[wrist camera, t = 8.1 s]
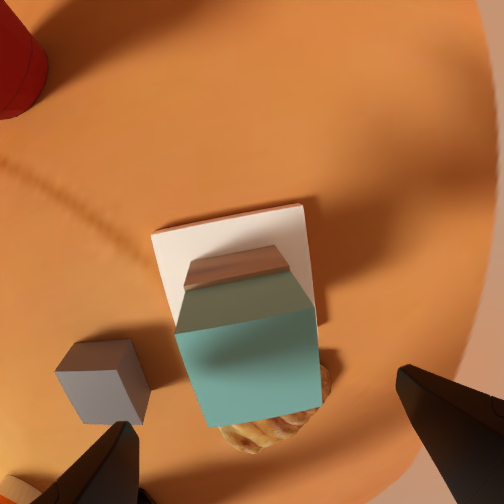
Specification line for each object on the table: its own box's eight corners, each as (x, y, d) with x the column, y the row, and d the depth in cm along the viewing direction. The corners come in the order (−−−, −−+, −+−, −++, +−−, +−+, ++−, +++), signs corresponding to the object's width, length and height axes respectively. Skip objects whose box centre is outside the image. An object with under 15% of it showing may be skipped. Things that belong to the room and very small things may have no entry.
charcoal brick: (151, 389, 22) (142, 424, 18) (97, 391, 21) (83, 423, 18) (131, 337, 20) (116, 369, 17) (74, 342, 20) (54, 371, 16)
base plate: (313, 329, 21) (318, 337, 20) (189, 353, 21) (188, 363, 20) (297, 203, 19) (302, 205, 18) (154, 231, 18) (150, 235, 17)
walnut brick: (286, 319, 20) (300, 353, 16) (209, 334, 19) (208, 371, 15) (274, 244, 18) (289, 265, 14) (190, 261, 18) (183, 286, 14)
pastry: (297, 335, 22) (311, 365, 18) (342, 381, 23) (358, 411, 20) (202, 401, 22) (202, 435, 19) (255, 437, 24) (261, 469, 21)
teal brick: (301, 356, 16) (322, 405, 12) (209, 374, 16) (208, 428, 12) (290, 270, 14) (314, 307, 11) (185, 291, 14) (174, 334, 10)
